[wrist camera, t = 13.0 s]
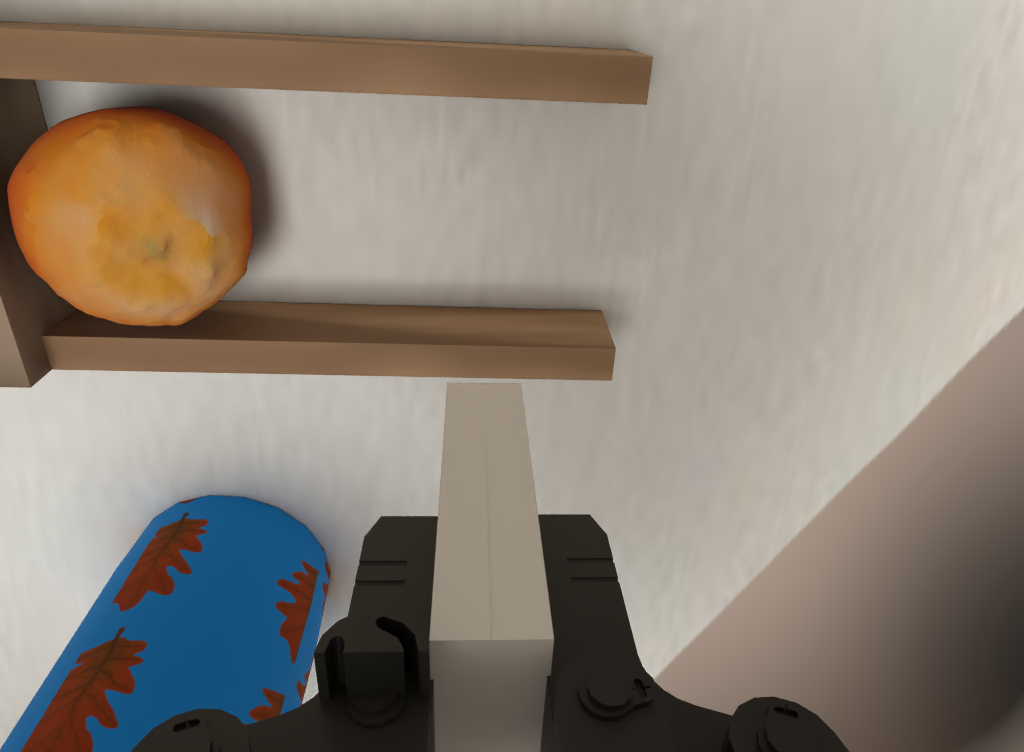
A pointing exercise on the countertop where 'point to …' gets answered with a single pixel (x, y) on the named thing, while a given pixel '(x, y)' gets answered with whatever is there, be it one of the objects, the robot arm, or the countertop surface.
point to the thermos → (187, 630)
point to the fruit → (133, 215)
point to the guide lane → (293, 326)
